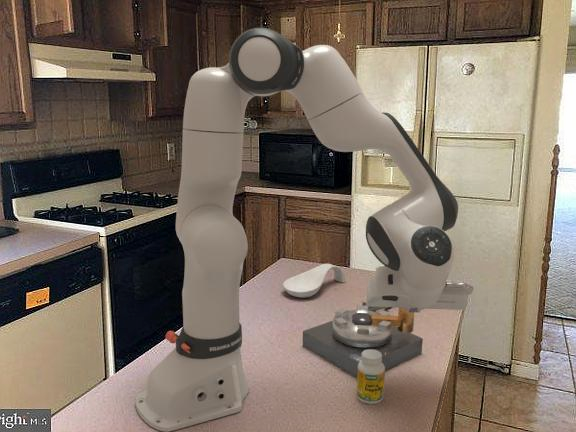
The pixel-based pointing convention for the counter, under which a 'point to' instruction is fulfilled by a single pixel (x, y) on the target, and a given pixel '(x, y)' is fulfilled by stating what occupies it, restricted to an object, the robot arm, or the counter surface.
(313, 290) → the spoon rest
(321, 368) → the counter surface
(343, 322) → the rotary crank dial
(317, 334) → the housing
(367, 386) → the supplement bottle
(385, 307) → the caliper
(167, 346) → the counter surface
